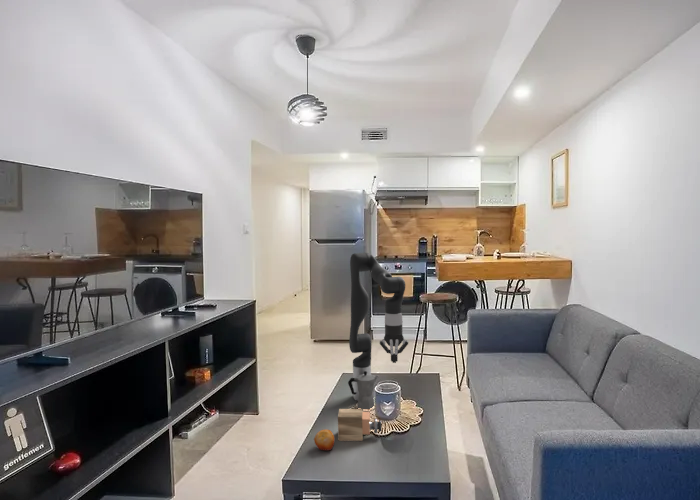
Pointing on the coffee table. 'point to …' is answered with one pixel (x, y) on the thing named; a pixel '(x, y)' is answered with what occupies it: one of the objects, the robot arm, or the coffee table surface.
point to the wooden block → (350, 425)
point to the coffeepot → (364, 389)
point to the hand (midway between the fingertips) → (394, 362)
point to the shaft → (376, 426)
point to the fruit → (324, 440)
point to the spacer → (366, 422)
